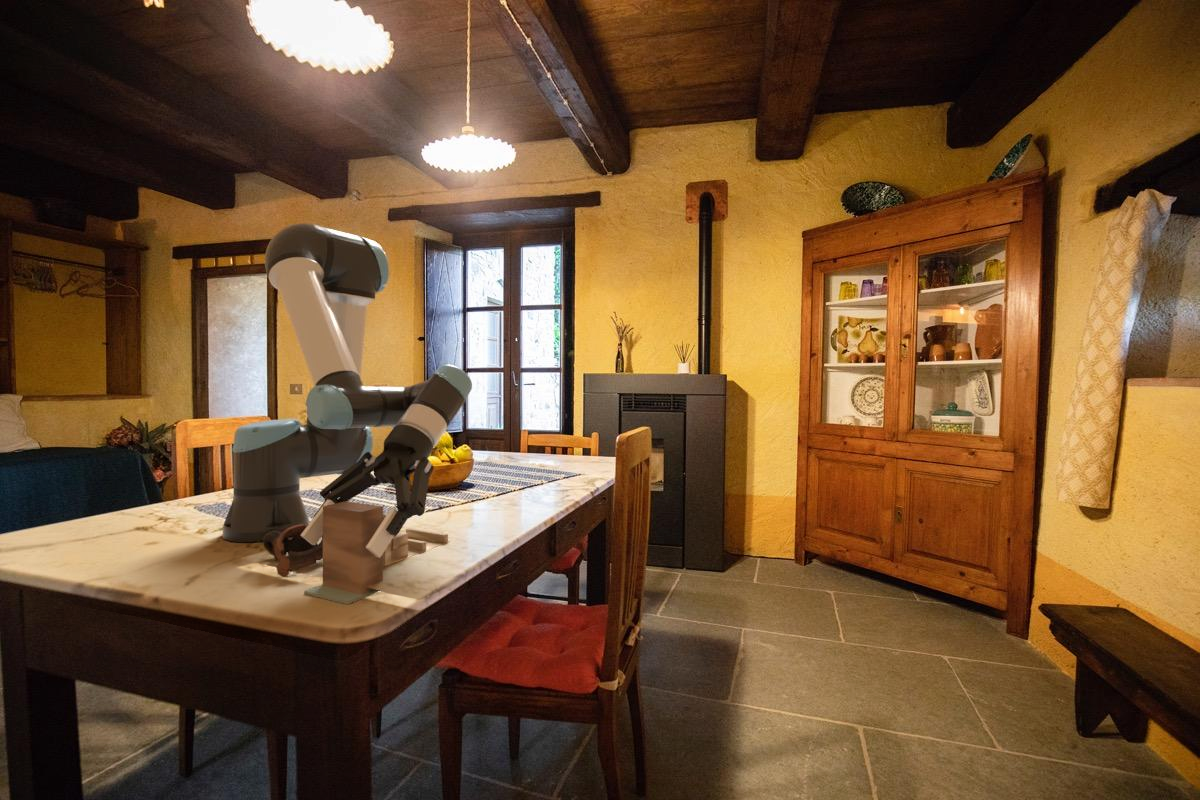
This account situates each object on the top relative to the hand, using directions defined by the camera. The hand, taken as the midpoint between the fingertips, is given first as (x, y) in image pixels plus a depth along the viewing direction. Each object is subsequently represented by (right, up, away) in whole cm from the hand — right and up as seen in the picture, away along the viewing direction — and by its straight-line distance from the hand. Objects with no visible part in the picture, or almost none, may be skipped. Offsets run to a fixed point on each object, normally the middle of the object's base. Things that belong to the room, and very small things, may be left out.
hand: (338, 546), depth 77 cm
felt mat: (+1, -7, +2) cm, 7 cm away
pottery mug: (-13, -7, +11) cm, 18 cm away
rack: (+2, -7, +18) cm, 20 cm away
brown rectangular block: (+1, -7, +2) cm, 7 cm away
